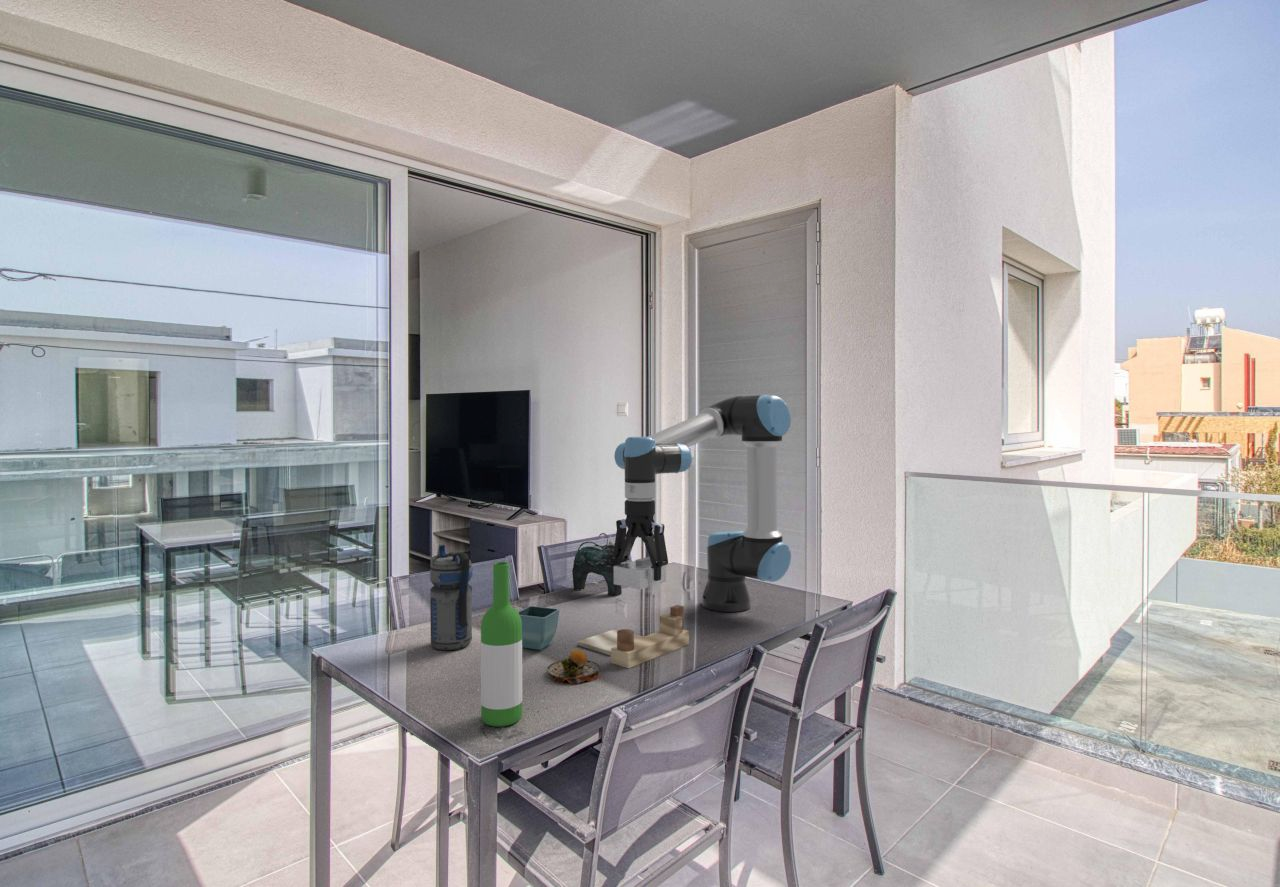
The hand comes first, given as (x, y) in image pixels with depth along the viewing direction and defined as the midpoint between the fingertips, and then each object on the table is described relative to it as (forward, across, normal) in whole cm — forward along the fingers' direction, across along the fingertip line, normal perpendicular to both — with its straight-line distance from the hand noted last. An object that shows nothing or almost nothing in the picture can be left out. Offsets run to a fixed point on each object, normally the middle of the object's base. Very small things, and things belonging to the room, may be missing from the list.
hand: (639, 590), depth 168 cm
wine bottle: (+15, +5, -47) cm, 49 cm away
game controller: (+16, -49, +36) cm, 63 cm away
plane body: (+15, +3, +1) cm, 16 cm away
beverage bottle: (+15, -38, -28) cm, 50 cm away
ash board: (+15, -9, 0) cm, 18 cm away
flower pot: (+15, -22, -14) cm, 30 cm away
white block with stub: (-2, 0, 0) cm, 2 cm away
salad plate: (+16, -1, -22) cm, 27 cm away
